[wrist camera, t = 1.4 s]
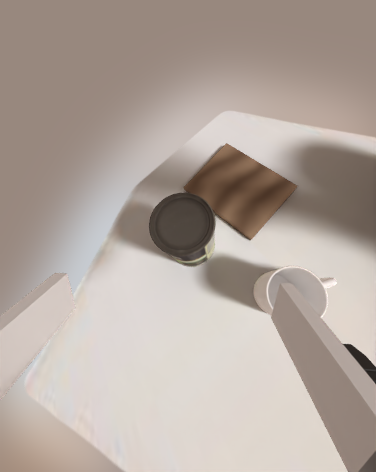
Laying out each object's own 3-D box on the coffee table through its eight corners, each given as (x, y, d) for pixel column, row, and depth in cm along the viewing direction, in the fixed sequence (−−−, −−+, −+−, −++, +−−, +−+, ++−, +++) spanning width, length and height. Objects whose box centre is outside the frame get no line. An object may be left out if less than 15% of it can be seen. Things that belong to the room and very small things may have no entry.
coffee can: (191, 277, 39) (178, 270, 26) (161, 243, 42) (136, 222, 29) (225, 244, 40) (230, 222, 26) (193, 214, 43) (184, 180, 30)
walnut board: (295, 188, 41) (297, 186, 40) (250, 240, 39) (251, 238, 38) (226, 146, 47) (226, 143, 46) (184, 189, 45) (183, 187, 44)
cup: (246, 278, 37) (257, 275, 28) (303, 261, 37) (334, 251, 27) (262, 321, 35) (280, 333, 25) (324, 303, 34) (367, 308, 24)
